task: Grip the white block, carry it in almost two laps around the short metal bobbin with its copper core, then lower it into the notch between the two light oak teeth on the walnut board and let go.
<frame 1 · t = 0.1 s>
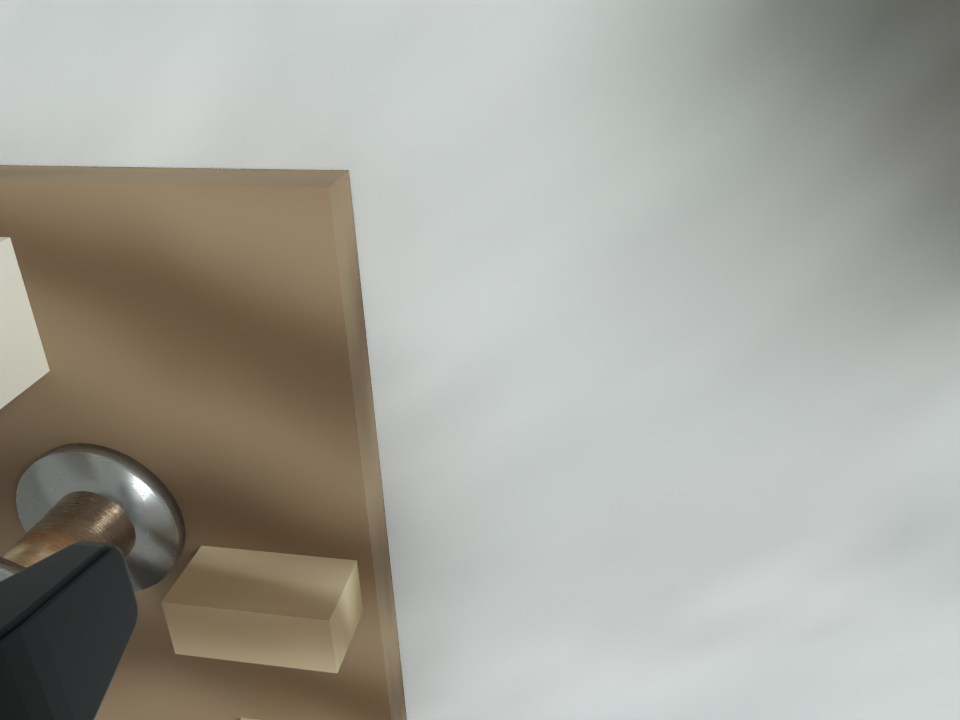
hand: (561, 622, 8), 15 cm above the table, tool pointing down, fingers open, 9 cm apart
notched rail: (298, 667, 29), resting on board
board: (174, 489, 28), on the table
bobbin: (106, 513, 27), resting on board
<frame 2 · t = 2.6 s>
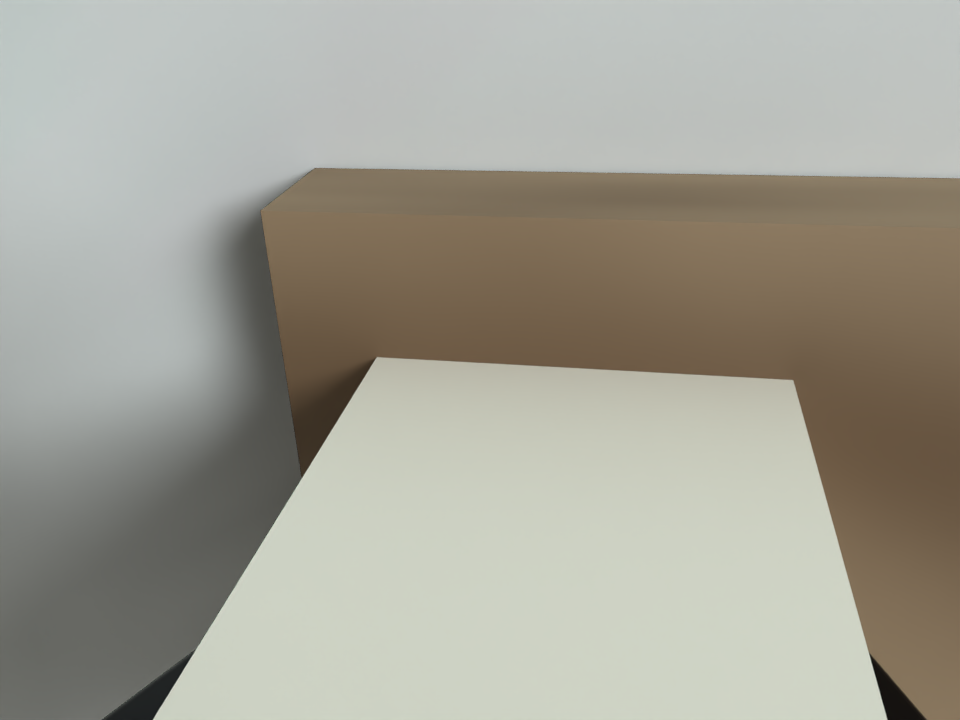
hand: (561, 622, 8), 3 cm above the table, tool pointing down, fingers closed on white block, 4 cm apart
white block: (573, 533, 9), point 1 cm above the table, touching board, gripper
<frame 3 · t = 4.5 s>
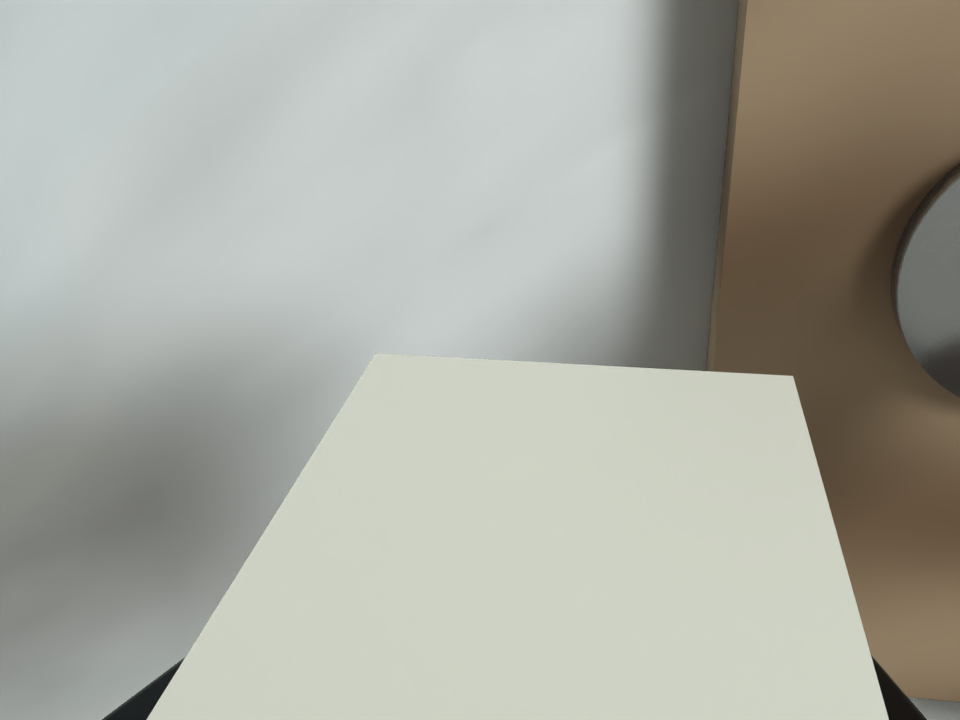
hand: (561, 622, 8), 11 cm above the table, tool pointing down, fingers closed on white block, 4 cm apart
white block: (572, 529, 9), point 10 cm above the table, touching gripper
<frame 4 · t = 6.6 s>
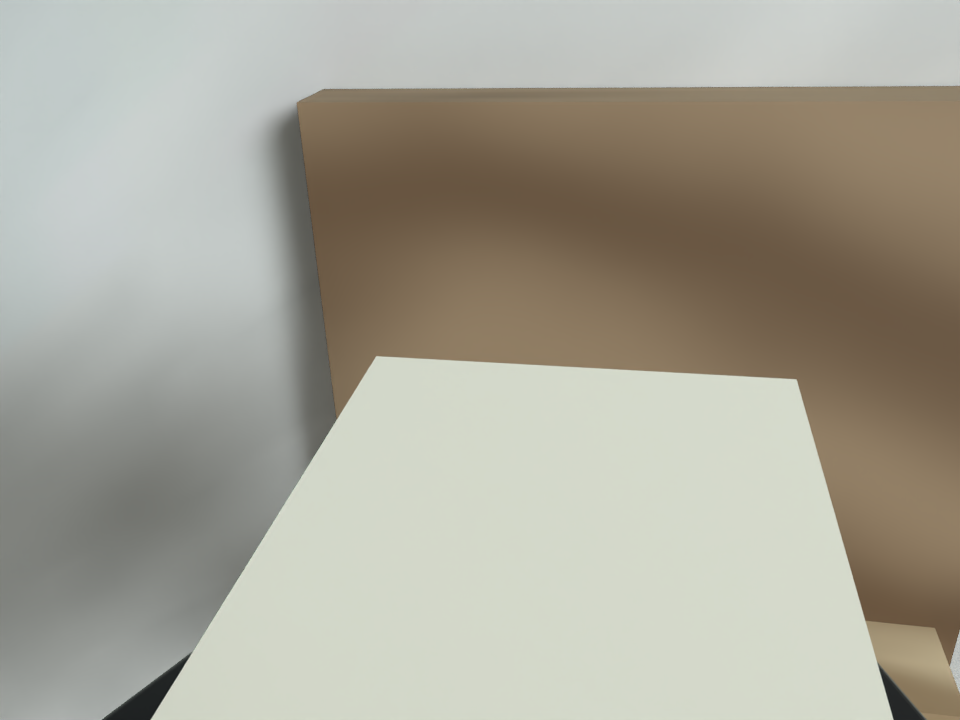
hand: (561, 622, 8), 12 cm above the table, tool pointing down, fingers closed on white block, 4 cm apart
board: (641, 527, 22), on the table
white block: (574, 533, 9), point 10 cm above the table, touching gripper
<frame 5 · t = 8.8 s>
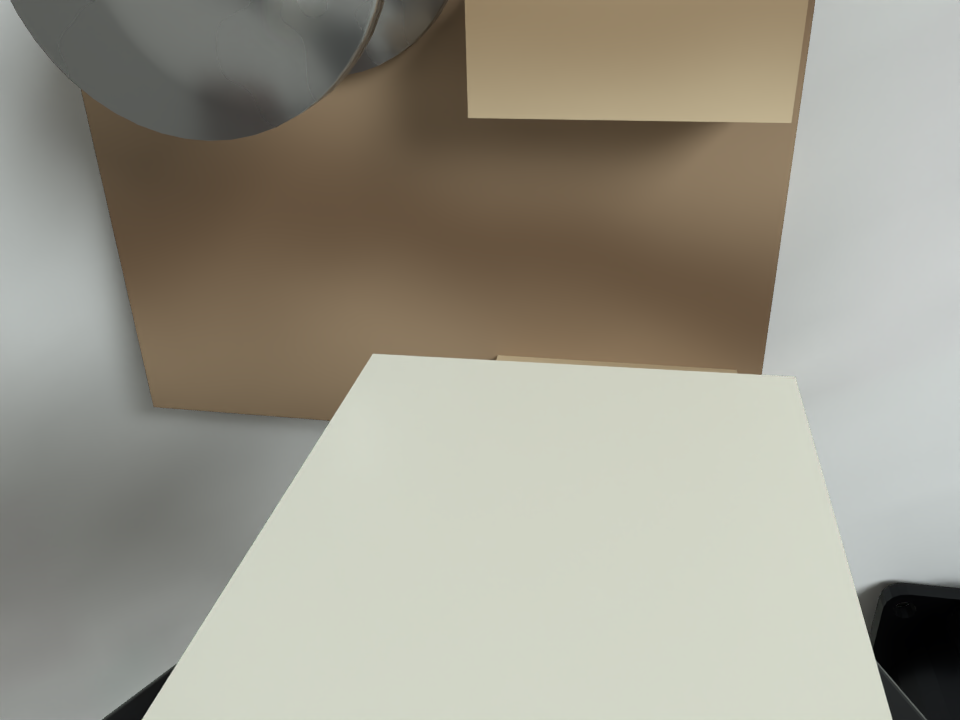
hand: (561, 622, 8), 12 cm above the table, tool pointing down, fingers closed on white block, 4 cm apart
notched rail: (621, 236, 17), resting on board
white block: (571, 532, 9), point 11 cm above the table, touching gripper
when the fingers open (4 cm above the table, at t = 10.5 s): white block drops 2 cm, resting on board.
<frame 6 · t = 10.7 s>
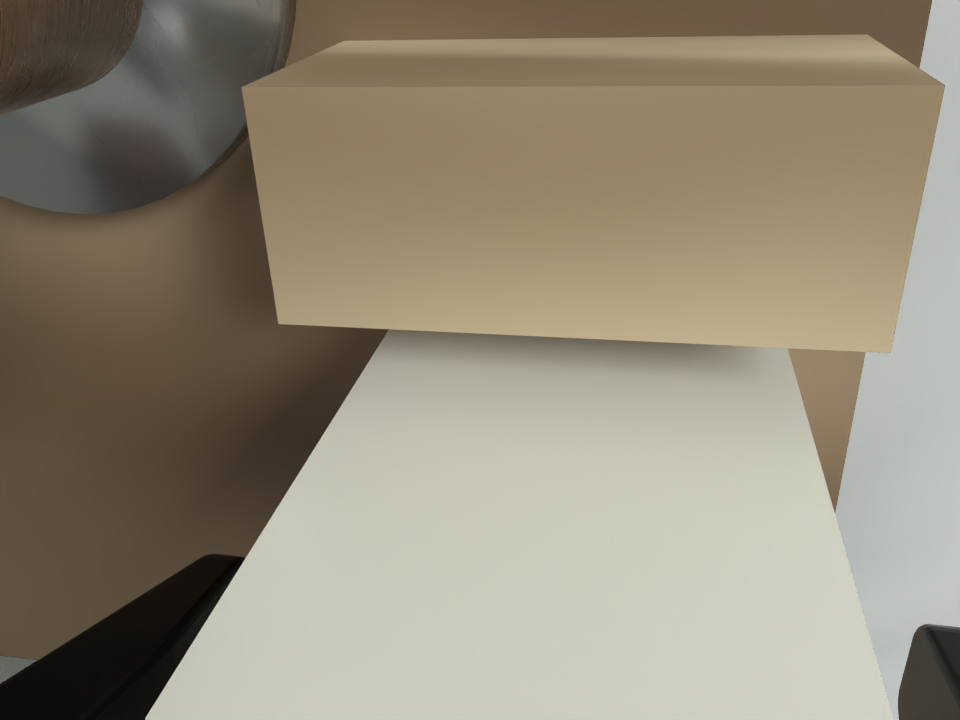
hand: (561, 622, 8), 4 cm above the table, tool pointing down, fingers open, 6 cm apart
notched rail: (582, 454, 11), resting on board
white block: (583, 450, 11), point 1 cm above the table, touching board
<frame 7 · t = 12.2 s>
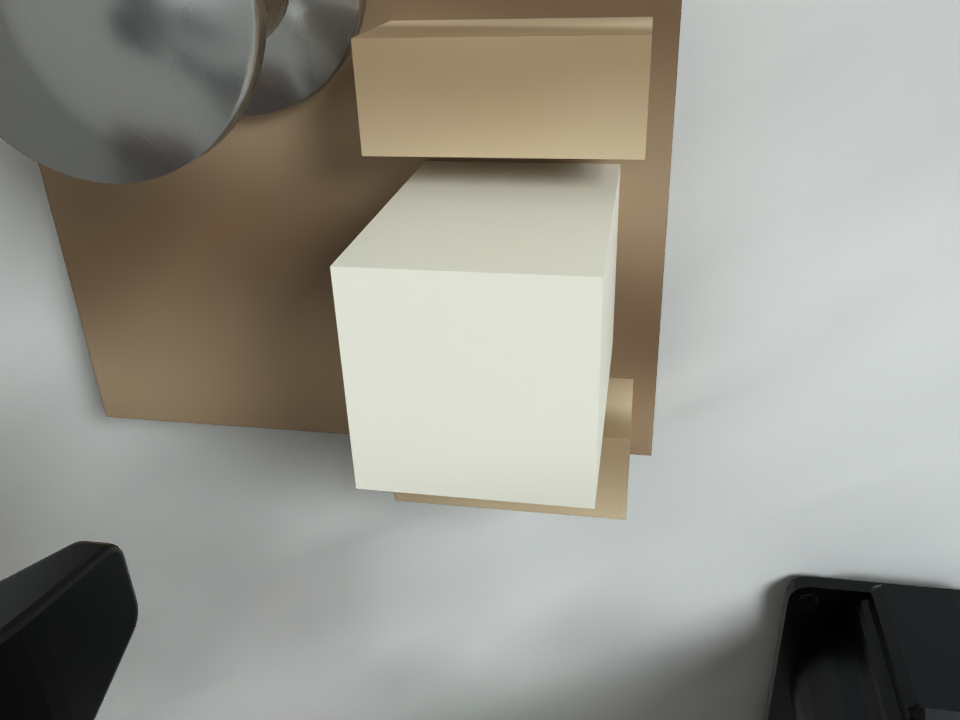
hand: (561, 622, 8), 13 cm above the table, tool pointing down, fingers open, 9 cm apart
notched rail: (521, 257, 19), resting on board
white block: (521, 255, 19), point 1 cm above the table, touching board
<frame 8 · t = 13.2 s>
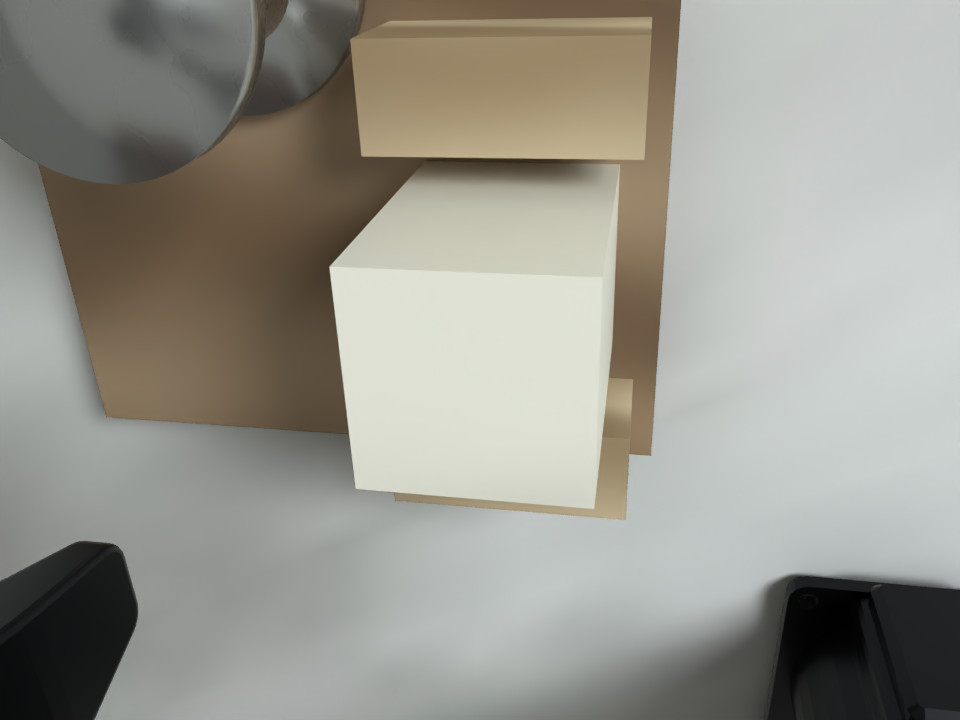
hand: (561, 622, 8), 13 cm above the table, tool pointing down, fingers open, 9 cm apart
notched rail: (520, 258, 19), resting on board
white block: (521, 255, 19), point 1 cm above the table, touching board
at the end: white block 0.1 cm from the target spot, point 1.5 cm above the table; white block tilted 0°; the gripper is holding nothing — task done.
